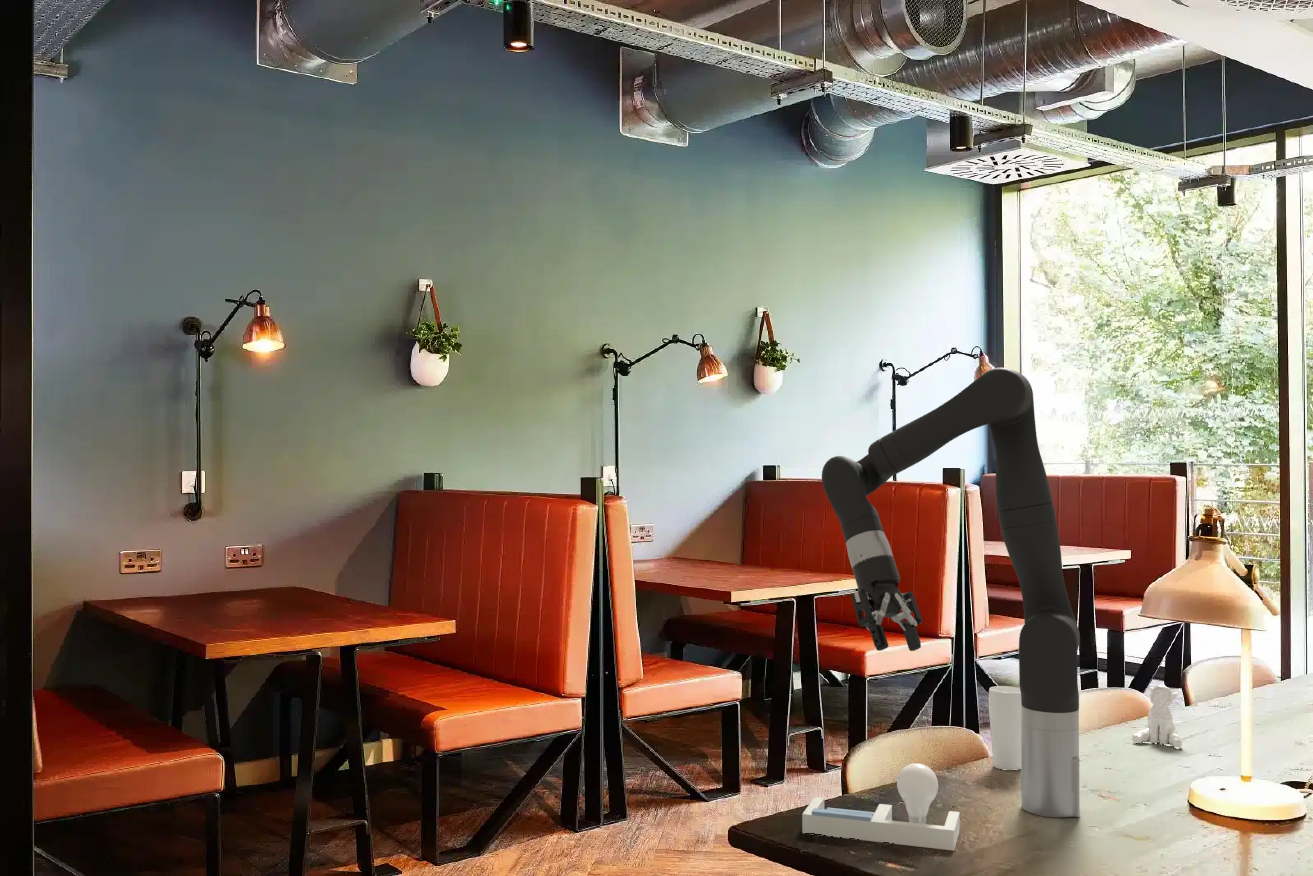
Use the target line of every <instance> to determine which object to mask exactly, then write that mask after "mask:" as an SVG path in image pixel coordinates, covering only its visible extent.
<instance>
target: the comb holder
mask: <svg viewBox="0 0 1313 876" xmlns="http://www.w3.org/2000/svg"><path fill="white" fill-rule="evenodd" d="M960 814H961V813H960V812H959V811H950V810H949V811H948V814H947V817H946V820H945V823H944V825H936V824H928V823H926V824H919V823H910V822H909V821H901V820H900V821H897V820H893V805H892V804H884V803H879V804H878V806H877V808H876V810H875V812H873V811H866V810H864V811H863V810H858V809H857V810H855V809H845V808H837V807H836V808H835V807H829V806H827V807H826V808H825V798H824V797H818V796H815V797H814V798H813V799H812V800H811V802H810V803H808V806H807V807H806V808H805V810H804V811H803V812H802V819H801V821H802V822H801V823H802V824H801V825H802V827H801V828H802V829H801V830H802V831H801V832H802V833H801V834H805V833H815V834H822V835H821V836H823V835H826V836H825V837H831V836H833V838H840V837H842V839H849V838H855V839H854V840H857V839H859V841H868V842H876V843H883V842H889V843H888V844H892V843H894V845H900V846H901V845H902V846H910V847H911V846H912V847H921V848H928V849H937V850H945V851H946V850H947V851H955V848H956V846H957V841H958V838H959V834H960V823H961V822H960Z"/></svg>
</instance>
